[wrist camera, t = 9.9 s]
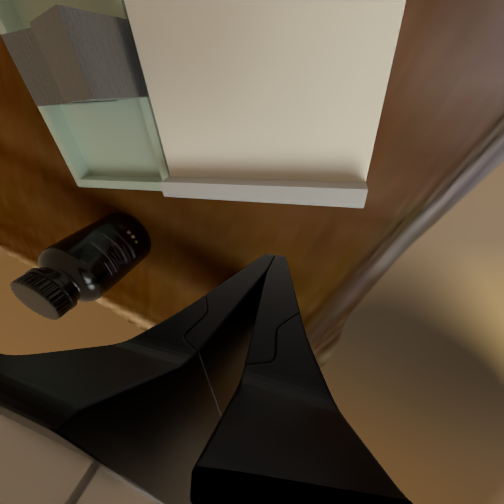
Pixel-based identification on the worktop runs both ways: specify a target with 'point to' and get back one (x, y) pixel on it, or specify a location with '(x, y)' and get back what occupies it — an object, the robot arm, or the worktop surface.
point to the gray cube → (35, 68)
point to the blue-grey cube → (90, 54)
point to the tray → (99, 118)
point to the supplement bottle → (83, 265)
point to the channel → (267, 94)
